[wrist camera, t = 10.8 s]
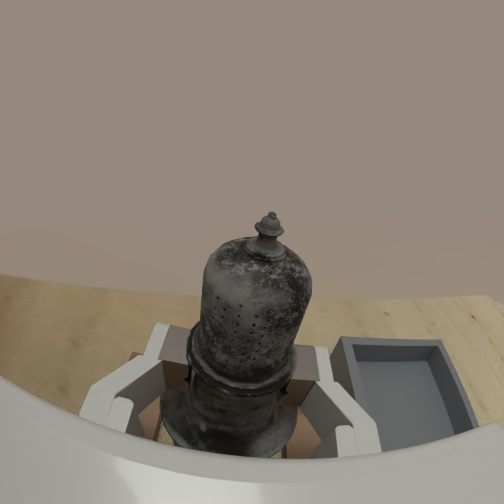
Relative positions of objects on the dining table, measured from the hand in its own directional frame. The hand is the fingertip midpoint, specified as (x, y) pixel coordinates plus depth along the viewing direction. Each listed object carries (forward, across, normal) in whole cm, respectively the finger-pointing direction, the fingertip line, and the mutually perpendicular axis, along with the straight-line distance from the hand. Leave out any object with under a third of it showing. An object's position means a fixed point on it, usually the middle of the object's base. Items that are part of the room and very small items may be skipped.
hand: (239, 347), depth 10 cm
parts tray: (+3, -18, +14) cm, 23 cm away
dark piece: (-1, 0, +6) cm, 7 cm away
